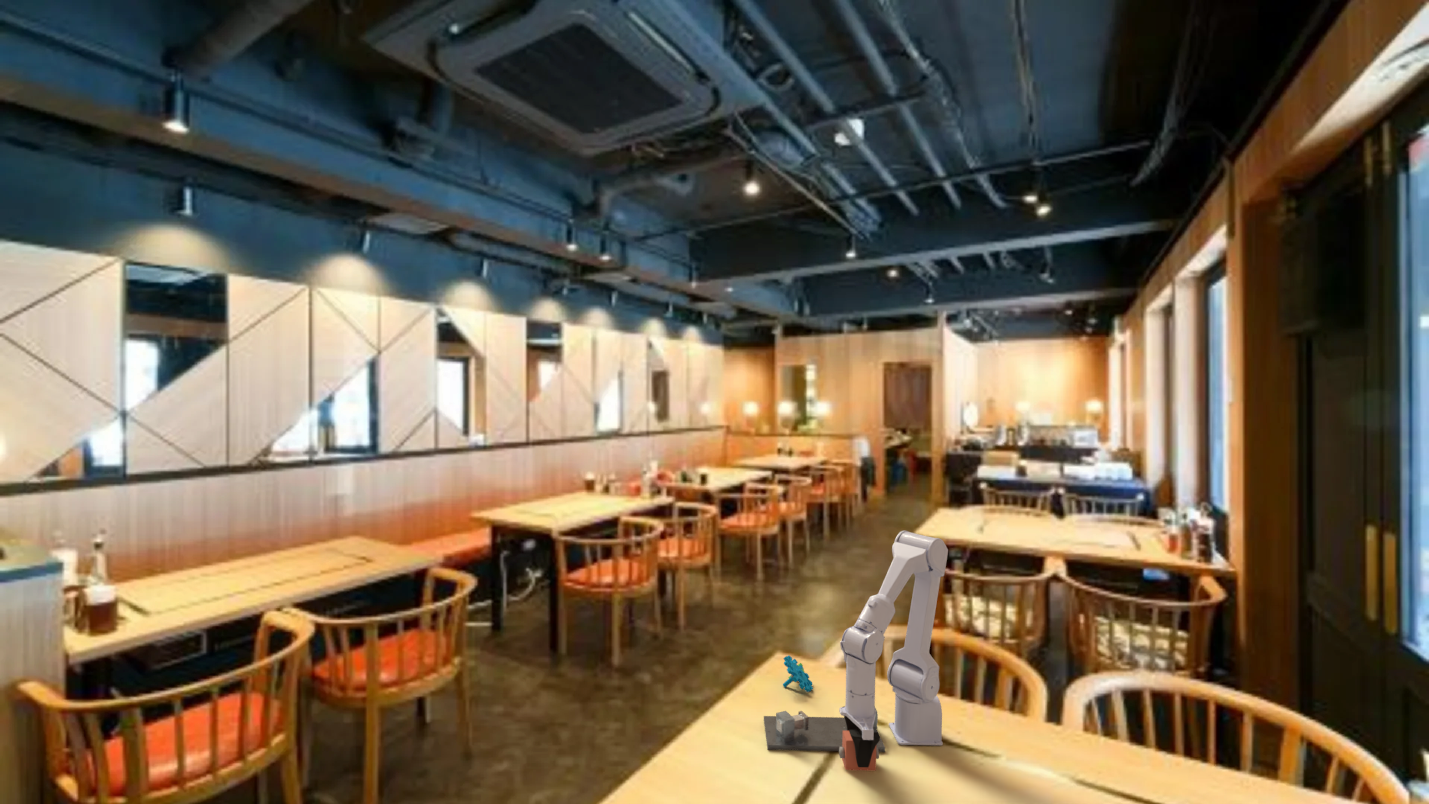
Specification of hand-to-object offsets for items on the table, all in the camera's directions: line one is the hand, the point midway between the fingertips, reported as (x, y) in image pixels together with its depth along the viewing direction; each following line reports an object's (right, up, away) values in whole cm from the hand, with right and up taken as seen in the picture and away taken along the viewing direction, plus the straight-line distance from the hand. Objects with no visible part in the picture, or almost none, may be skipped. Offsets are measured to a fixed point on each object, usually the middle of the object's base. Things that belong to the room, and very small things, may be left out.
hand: (858, 755), depth 126 cm
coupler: (0, -2, 0) cm, 2 cm away
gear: (-8, -1, +32) cm, 33 cm away
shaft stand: (-6, -2, +10) cm, 12 cm away
